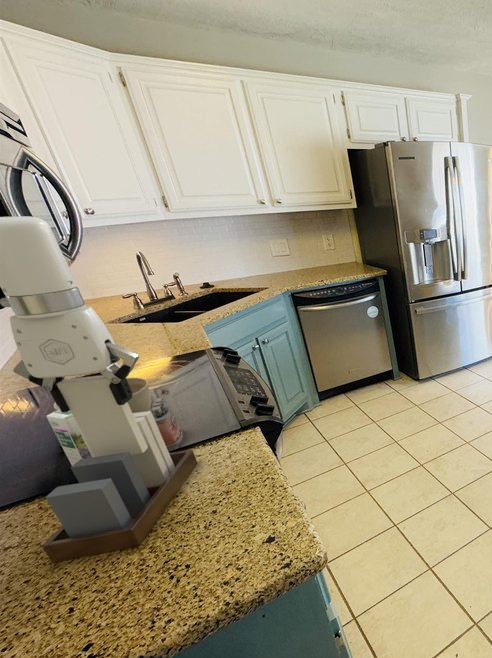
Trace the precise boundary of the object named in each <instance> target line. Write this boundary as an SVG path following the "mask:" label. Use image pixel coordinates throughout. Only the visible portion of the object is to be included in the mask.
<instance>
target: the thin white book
mask: <svg viewBox="0 0 492 658" xmlns="http://www.w3.org/2000/svg"><path fill="white" fill-rule="evenodd" d="M111 383H112V382H111V381H110V380H108V379H107V378H106V377H105V376H103V375H102V374H101V375H93V376H84V377H82V376H81V377H72V378H64V380H62V381H61V382H59V383H57V386H58V388H59V390H60V391H61V393H62V395H63V397H64V399H65V401H66V403H67V405H68V407H69V409H70V411H71V413H72V414H73V416H74V418H75V420H76V422H77V424H78V426H79V428H80V430H81V432H82V433H83V435H84V437H85V439H86V441H87V443H88V445H89V447H90V449H91V451H92V453H93V454H94V456H95V457H99V456H105V455H112V454H119V453H126V452H130V454H131V455H134V454H140V453H144V452H145V450H146V449H147V448H148V446H147V444H146V442H145V440H144V438H143V435H142V433H141V431H140V429H139V427H138V424H137V422H136V420H135V418H134V416H133V414H132V411H131V409H130V407H129V405H128V403H125V404H124V405H118V404H117V403H116V400H115V398H114V396H113V394H112V392H111V390H110V388H109V385H110V384H111Z"/></svg>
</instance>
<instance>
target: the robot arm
mask: <svg viewBox="0 0 492 658" xmlns="http://www.w3.org/2000/svg"><path fill="white" fill-rule="evenodd" d="M0 289H1V290H2V292H3V294H4V297H2V298H0V305H1V306H2V307H3V308H11V310H12V312H13V313H14V315H11V316H9V322H10V328H11V333H12V337H13V340H14V343H15V345H16V348H17V350H18V353H19V355H20V357H21V360H20V361H19V362H18V363H17V364H16V365H15V367H13V369H12V372H13V373H15V374H17V375H18V376H21V377H22V378H24V379H27V380H28V381H29V382H30V383H32V384H34V385H37V386H39V387H41V389H42V390H43V391H45V392H49V393H50V395H51V396H52V399H53V400H54V403H55V402H56V404H57V405H58V406H59V408H60V410H61V412H68V411H69V410H70V409H69V407H68V405H67V403H66V401H65V399H64V397H63V395H62V393H61V391H60V390H59V388H58V386H57V383H59V382H61V381H62V380H64V379H66V378H65V377H72V376H80V375H90V374H98V373H99V374H101V375H103V376H105V377H106V378H107V379H108V380H110V381H111V382H112V383H111V384H110V385H109V388H110V390H111V392H112V394H113V396H114V398H115V400H116V403H117V404H118V405H124V404H125V403H127V402H128V401H129V400H130V399H132V390H131V388H130V386H129V384H128V381H127V379H126V378H128V377H129V375H130V373H131V372H132V370H133V369H134V367H135V365H136V364H137V362H138V360H139V358H140V355H139V354H137V353H135V352H133V351H130V350H129V349H125V348H124V347H121V346H119V345H117V344H116V343H115V341H114V339H113V337H112V335H111V333H110V331H109V329H108V327H106V325H105V323H104V322H103V320H102V318H100V316H99V315H98V313H97V312H96V311H95V310H94V308H93V307H92V306H89V305H87V304H86V303H85V300H84V298H83V296H82V294H81V291H80V289H79V287H78V285H77V283H76V280H75V278H74V275H73V274H72V272H71V269H70V267H69V264H68V263H67V260H66V258H65V256H64V254H63V252H62V249H61V247H60V245H59V243H58V240H57V238H56V236H55V234H54V232H53V230H52V228H51V226H50V224H48V223H47V222H46V220H44V219H42V218H41V217H37V216H30V215H29V216H28V215H27V216H25V215H22V216H20V215H19V216H0ZM120 360H122V365H120V364H118V362H119V361H120Z"/></svg>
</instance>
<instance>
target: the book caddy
mask: <svg viewBox="0 0 492 658" xmlns="http://www.w3.org/2000/svg"><path fill="white" fill-rule="evenodd" d="M169 454H170V457H171V459H172V461H173V464H174V466H175V468H174V469H173V471H172V472H171V473H170V474H169V476H168V477H167V478H166V480H165V481H164V482H163V483H162V484H160V485H154V486H148V487H146V488H147V490H148V492H149V494H150V496H151V499H150V500H149V502H148V503H147V504H146V505H145V507H144V508H143V509H142V511H141V512H140V513H139V515H138V516H137V517H134V519H133V522H132V524H131V525H130V526H129V527H128V528H123V529H117V530H112V531H107V532H101V533H96V534H90V535H85V536H80V537H74V538H70V537H69V536H68V534H67V532H66V531H65V529H64V527H63V526H62V525H61V526H60V527H59V528H58V529H57V530H56V531H55V533H53V535H51V536H50V537H49V538H48V539H47V540H46V542H45V543H43V545H41V547H42V550H43V551H44V552H45V554H46V555H47V557H48V558H49V560H50V561H51V563H52V564H54V563H59V562H64V561H69V560H74V559H78V558H84V557H88V556H95V555H100V554H104V553H109V552H116V551H120V550H125V549H130V548H137V547H140V546H142V544H143V542H144V541H145V539H146V538H147V536H148V535H149V534H150V532H151V531H152V529H153V528H154V526H155V525H156V524H157V523H158V521H159V519H160V518H161V517H162V515H163V514H164V512H165V511H166V510H167V508H168V506H169V505H170V504H171V502H172V501H173V500H174V499H175V496H176V495H177V494H178V492H179V491H180V489H181V488H182V486H183V485H184V483H186V482H187V480H188V478H189V477H190V476H191V474H192V472H193V471H194V470H195V469H196V467H197V465H198V463H199V462H198V460H197V457H196V455H195V453H194V450H193V449H188V450H181V451H173V452H169Z"/></svg>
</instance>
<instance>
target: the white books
mask: <svg viewBox="0 0 492 658" xmlns="http://www.w3.org/2000/svg"><path fill="white" fill-rule="evenodd" d="M132 414H133V416H134V418H135V420H136V422H137V424H138V427H139V429H140V431H141V433H142V435H143V438H144V440H145V442H146V444H147V446H148V448H147V449H146V450H145V452H144V453H140V454H134V455H131V456H132V458H133V461H134V463H135V465H136V467H137V469H138V471H139V473H140V475H141V477H142V480H143V482H144V484H145V486H146V487H148V486H154V485H160V484H162V483H163V482H164V481H165V480H166V478H167V477H168V476H169V474H170V473H171V472H172V471H173V469H174V468H175V466H174V464H173V461H172V459H171V457H170V454H169V453H170V452H169V449H167V447H166V445H165V443H164V440H163V438H162V436H161V433H160V431H159V429H158V426H157V424H156V422H155V420H154V417H153V415H152V414H153V412H152V411H151V410H150V411H147V412H139V413H132Z"/></svg>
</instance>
